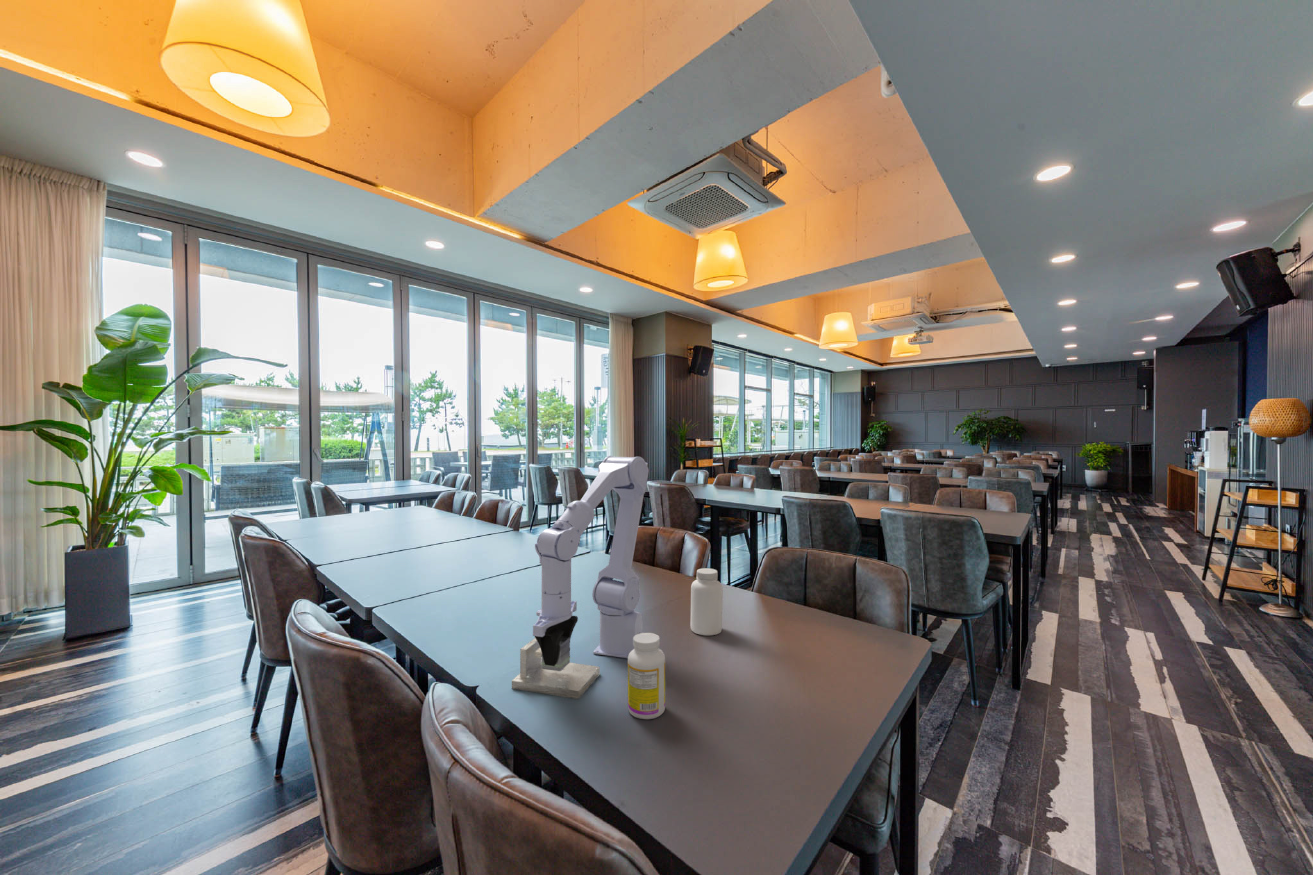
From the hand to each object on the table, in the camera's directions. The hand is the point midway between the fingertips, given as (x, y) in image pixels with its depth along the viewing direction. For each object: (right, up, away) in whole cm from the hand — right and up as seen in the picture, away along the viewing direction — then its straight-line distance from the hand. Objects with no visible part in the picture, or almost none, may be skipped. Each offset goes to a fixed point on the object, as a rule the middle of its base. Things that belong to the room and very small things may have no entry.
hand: (556, 659), depth 95 cm
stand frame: (0, -5, 0) cm, 5 cm away
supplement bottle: (+18, -5, -10) cm, 21 cm away
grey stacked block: (0, -1, 0) cm, 1 cm away
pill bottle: (+32, -5, +27) cm, 42 cm away
